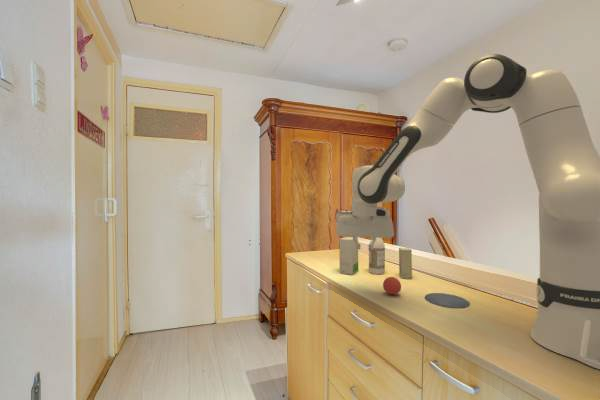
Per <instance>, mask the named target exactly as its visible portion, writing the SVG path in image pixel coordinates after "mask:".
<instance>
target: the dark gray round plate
mask: <svg viewBox="0 0 600 400" xmlns="http://www.w3.org/2000/svg"><path fill="white" fill-rule="evenodd" d="M424 299H425V300H426V302H429V303H430V304H433V305H436V306H439V307H444V308H449V309H451V308H452V309H464V308H468V307H469V306H470V305H471V304H470V302H469V301H468V300H467V299H466V298H464V297H461V296H457V295H455V294H450V293H444V292H443V293H442V292H431V293H428V294H425V296H424Z"/></svg>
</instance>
